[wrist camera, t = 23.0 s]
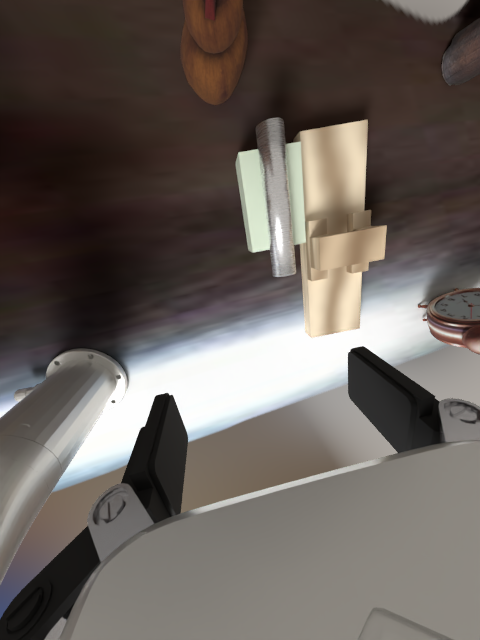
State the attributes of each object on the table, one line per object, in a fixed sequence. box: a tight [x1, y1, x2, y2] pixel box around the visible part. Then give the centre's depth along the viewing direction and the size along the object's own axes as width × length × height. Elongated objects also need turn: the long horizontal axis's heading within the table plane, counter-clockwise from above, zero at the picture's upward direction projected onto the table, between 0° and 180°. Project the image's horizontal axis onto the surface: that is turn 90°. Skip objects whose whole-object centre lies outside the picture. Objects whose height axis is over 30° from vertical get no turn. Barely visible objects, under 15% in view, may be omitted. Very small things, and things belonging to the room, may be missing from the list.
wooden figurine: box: [180, 0, 248, 105], centre depth 19 cm, size 7×6×15 cm
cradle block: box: [236, 142, 306, 252], centre depth 29 cm, size 7×11×4 cm, turn 10°
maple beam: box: [293, 120, 387, 338], centre depth 31 cm, size 8×28×7 cm, turn 10°
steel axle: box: [256, 118, 296, 277], centre depth 26 cm, size 16×3×3 cm, turn 10°
